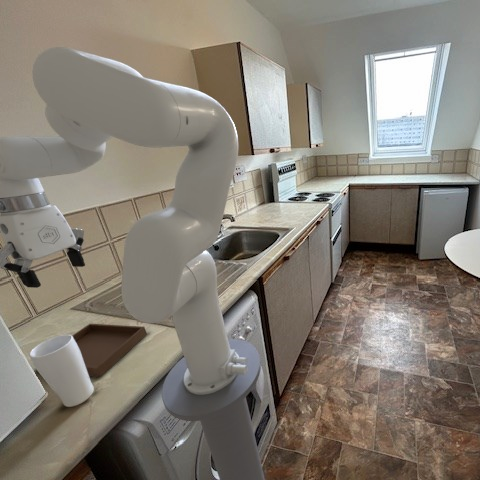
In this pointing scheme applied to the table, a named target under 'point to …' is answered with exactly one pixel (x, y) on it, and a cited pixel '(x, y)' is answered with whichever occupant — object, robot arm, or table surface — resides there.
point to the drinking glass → (63, 369)
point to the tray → (106, 345)
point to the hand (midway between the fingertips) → (58, 275)
